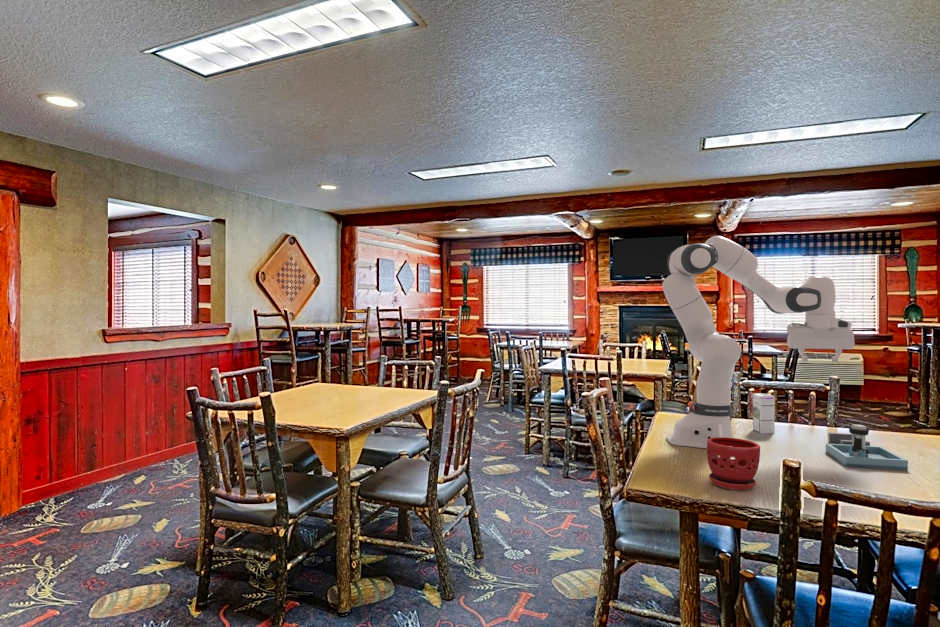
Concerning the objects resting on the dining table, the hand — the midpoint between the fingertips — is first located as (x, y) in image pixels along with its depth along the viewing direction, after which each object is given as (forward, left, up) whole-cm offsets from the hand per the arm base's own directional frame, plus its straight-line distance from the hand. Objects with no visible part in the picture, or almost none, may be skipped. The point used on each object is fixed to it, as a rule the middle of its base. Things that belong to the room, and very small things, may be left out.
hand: (819, 361), depth 190 cm
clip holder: (+8, -3, -29) cm, 30 cm away
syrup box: (-14, +15, -29) cm, 36 cm away
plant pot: (-39, -54, -29) cm, 73 cm away
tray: (+6, -20, -29) cm, 36 cm away
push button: (+5, -20, -28) cm, 35 cm away
